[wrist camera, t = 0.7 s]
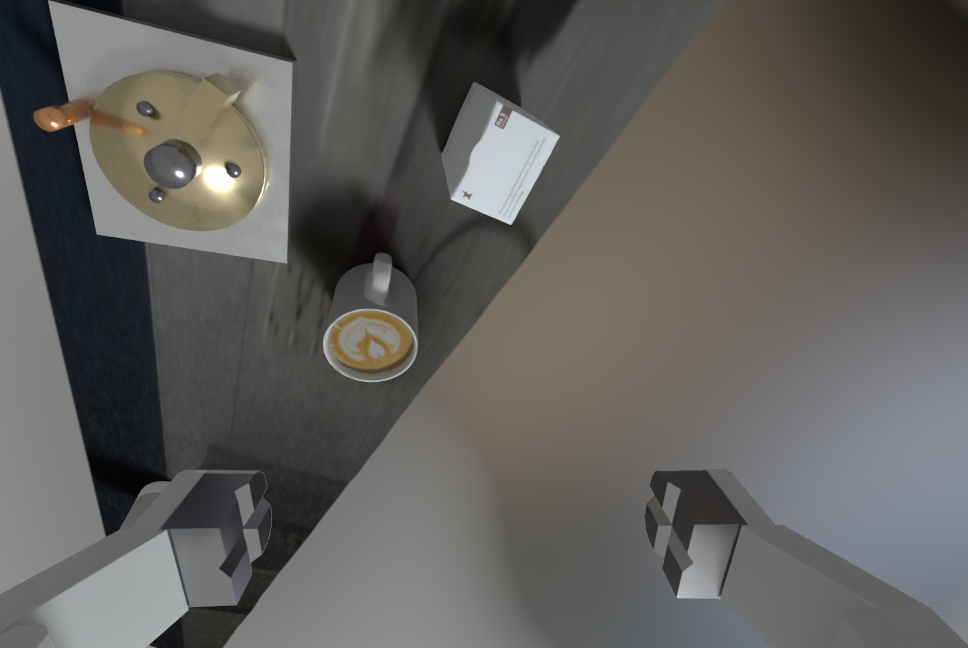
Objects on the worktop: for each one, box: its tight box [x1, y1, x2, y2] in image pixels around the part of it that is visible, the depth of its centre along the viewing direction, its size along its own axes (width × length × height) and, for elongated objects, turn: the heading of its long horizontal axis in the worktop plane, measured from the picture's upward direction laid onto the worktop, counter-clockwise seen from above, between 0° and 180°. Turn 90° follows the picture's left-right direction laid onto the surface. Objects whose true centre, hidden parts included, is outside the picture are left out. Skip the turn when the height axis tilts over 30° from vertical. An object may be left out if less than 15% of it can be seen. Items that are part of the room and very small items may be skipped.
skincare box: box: [441, 82, 559, 225], centre depth 42 cm, size 8×6×15 cm
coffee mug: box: [323, 253, 418, 382], centre depth 53 cm, size 13×10×10 cm
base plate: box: [34, 0, 297, 263], centre depth 42 cm, size 20×18×7 cm
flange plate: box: [89, 71, 267, 231], centre depth 41 cm, size 16×14×5 cm
